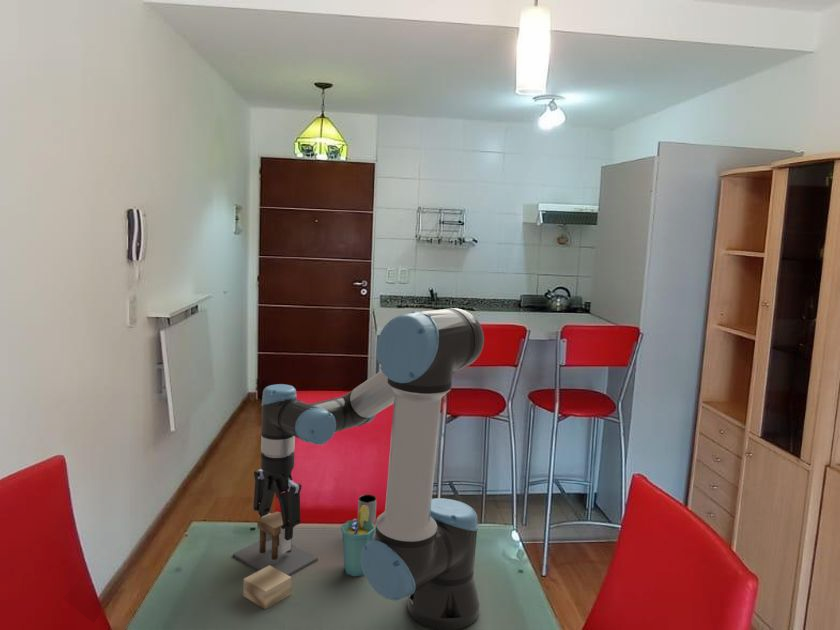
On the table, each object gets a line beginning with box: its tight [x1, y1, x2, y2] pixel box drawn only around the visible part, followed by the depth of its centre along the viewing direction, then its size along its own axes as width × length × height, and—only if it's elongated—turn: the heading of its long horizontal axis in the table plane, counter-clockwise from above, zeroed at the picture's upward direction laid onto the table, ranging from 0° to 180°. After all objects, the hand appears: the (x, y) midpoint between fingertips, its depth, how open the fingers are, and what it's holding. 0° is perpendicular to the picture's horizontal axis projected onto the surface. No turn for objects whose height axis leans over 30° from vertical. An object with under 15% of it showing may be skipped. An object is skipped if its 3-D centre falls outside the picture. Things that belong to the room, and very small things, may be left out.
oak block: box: [242, 565, 292, 610], centre depth 136 cm, size 7×7×4 cm
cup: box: [340, 505, 376, 577], centre depth 146 cm, size 14×8×15 cm, turn 176°
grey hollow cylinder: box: [357, 494, 377, 540], centre depth 163 cm, size 4×4×10 cm
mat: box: [232, 537, 319, 577], centre depth 151 cm, size 16×12×1 cm
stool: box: [256, 510, 296, 560], centre depth 150 cm, size 6×6×8 cm
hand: (275, 545), depth 151 cm, fingers closed on stool, 6 cm apart
